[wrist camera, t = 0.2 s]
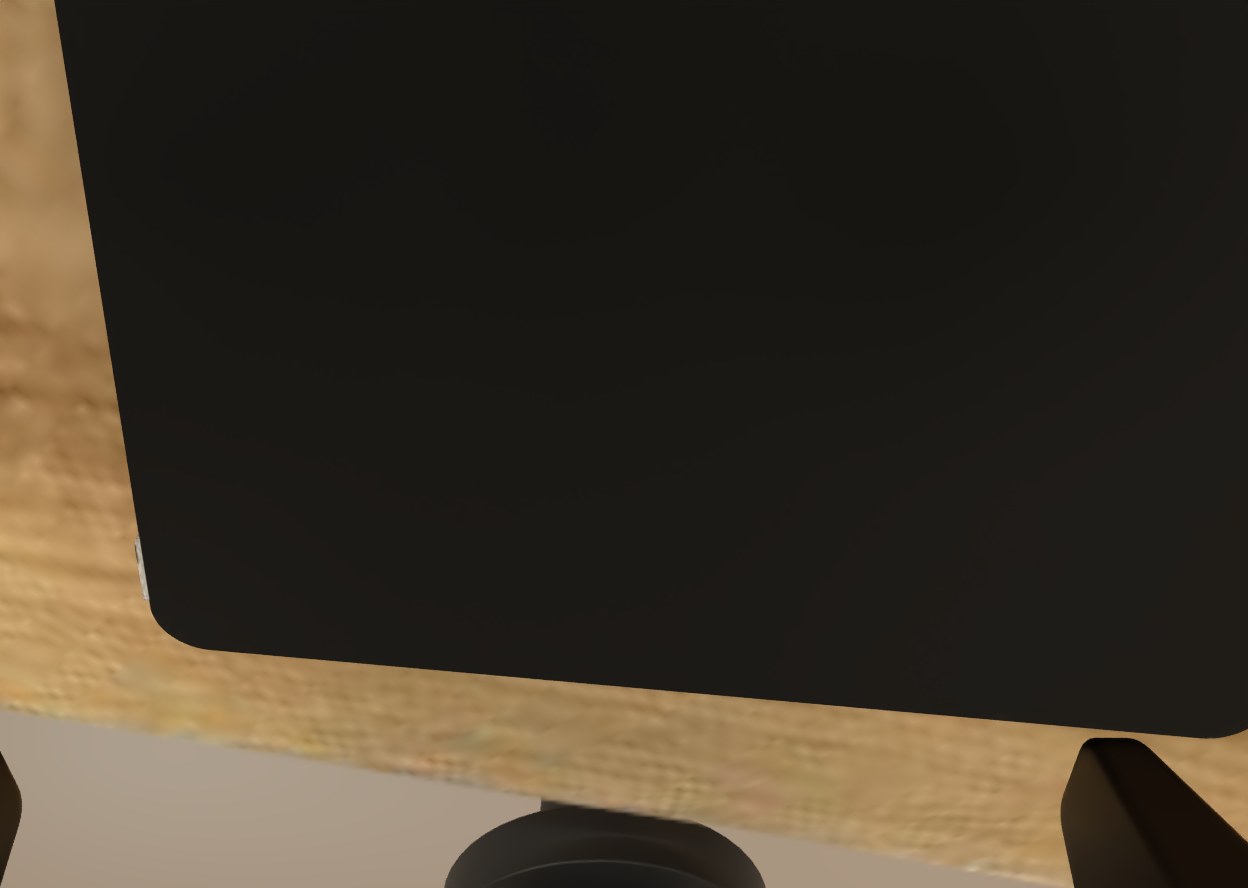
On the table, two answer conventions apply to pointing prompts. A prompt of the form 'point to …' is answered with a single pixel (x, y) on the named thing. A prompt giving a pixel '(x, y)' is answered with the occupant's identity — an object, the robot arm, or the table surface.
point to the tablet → (690, 341)
